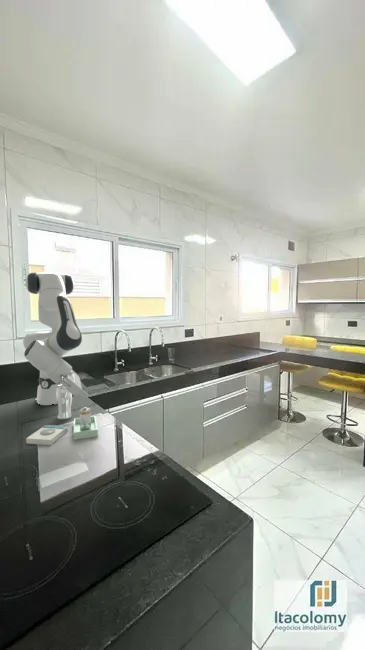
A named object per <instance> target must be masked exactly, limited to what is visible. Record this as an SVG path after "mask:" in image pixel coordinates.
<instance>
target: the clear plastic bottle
mask: <svg viewBox="0 0 365 650" xmlns="http://www.w3.org/2000/svg"><path fill="white" fill-rule="evenodd" d="M56 398H57V404H56V405H57V409H58V414H57V419H58V420H60V421H61V420H63V421H64V420H68V419H70V418H71V417H72V416H73V415H72V411H71V409H72V408H71V407H72V402H73V397H72V393H70V392H69V391H68V390H67V389H66V388H65V387H64V386H63V385H59V386H57V392H56Z"/></svg>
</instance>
